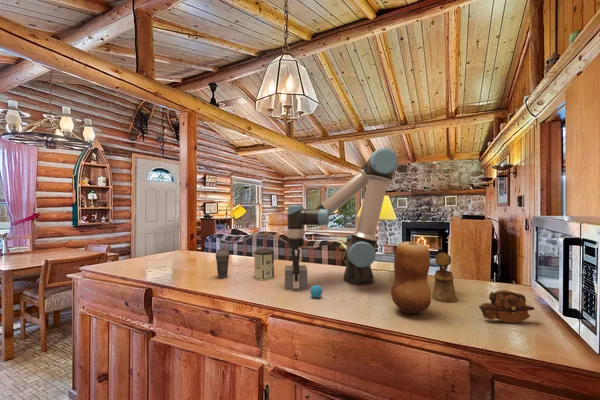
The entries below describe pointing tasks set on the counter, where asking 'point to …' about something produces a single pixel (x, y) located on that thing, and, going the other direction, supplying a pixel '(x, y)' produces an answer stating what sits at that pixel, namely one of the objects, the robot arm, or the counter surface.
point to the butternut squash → (411, 277)
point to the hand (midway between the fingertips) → (295, 284)
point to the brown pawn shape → (444, 280)
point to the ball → (316, 291)
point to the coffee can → (264, 264)
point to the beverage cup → (222, 262)
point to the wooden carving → (506, 307)
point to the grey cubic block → (301, 278)
